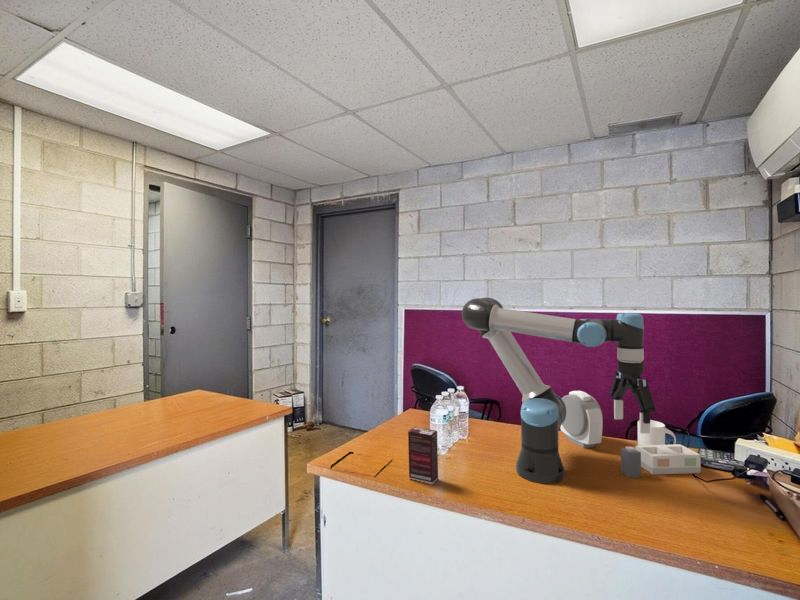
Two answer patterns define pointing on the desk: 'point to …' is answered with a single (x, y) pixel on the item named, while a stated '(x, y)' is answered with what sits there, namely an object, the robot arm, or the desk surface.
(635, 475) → the plug
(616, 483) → the desk surface
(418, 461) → the supplement box
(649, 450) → the divided sorting tray
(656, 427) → the mug
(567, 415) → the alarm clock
